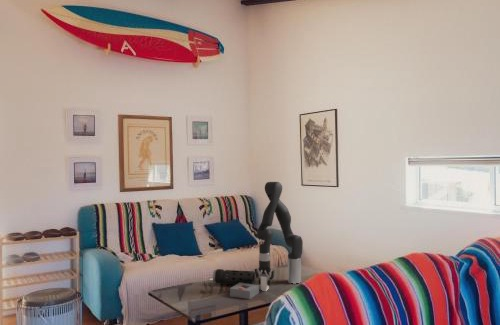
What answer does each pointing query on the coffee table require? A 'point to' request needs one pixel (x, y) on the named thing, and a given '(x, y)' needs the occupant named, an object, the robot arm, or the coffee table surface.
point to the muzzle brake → (233, 276)
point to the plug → (264, 282)
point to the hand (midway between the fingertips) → (264, 284)
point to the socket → (244, 290)
